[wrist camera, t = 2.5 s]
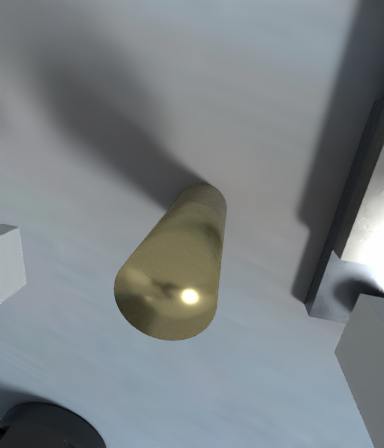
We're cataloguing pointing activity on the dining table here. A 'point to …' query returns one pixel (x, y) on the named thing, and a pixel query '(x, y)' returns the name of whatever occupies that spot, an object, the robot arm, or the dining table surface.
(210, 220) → the toggle switch lever
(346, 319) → the toggle switch plate
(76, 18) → the dining table surface
